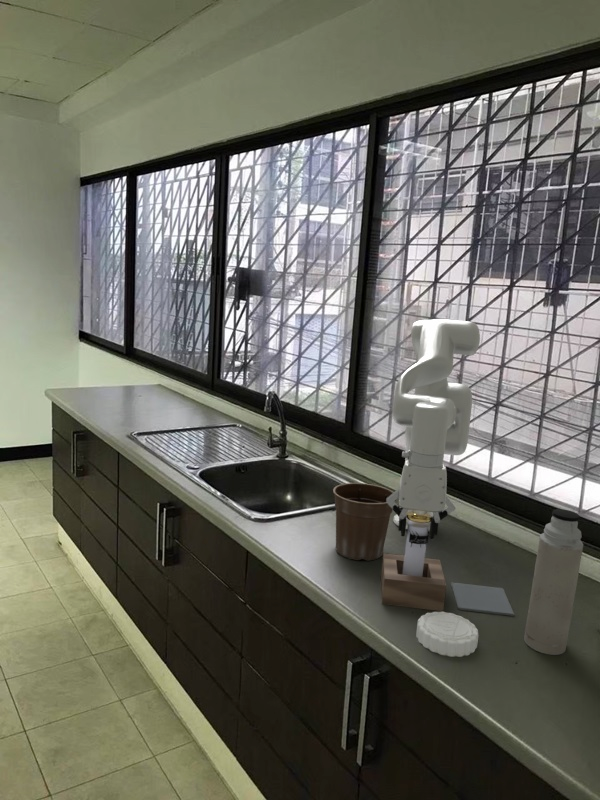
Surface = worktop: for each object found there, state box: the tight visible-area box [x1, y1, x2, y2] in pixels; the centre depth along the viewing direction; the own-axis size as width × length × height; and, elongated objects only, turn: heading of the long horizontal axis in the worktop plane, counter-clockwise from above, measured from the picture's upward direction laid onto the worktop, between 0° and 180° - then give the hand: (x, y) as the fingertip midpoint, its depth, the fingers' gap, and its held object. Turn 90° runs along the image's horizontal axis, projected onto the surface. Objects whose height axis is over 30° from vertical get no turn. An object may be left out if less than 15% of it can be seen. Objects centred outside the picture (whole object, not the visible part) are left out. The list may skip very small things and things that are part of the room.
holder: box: [380, 552, 447, 612], centre depth 148 cm, size 13×13×6 cm
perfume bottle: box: [402, 510, 433, 577], centre depth 147 cm, size 6×6×20 cm
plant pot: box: [332, 482, 397, 562], centre depth 167 cm, size 16×16×16 cm
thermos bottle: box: [523, 508, 584, 656], centre depth 129 cm, size 8×8×28 cm
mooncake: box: [415, 610, 479, 658], centre depth 130 cm, size 12×12×4 cm
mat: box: [450, 582, 515, 617], centre depth 148 cm, size 12×12×1 cm
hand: (417, 534), depth 146 cm, fingers closed on perfume bottle, 5 cm apart
